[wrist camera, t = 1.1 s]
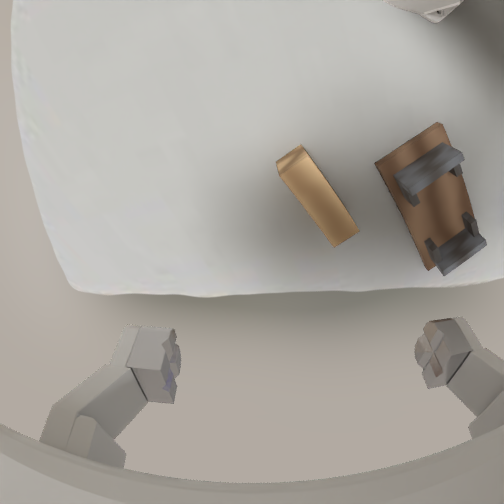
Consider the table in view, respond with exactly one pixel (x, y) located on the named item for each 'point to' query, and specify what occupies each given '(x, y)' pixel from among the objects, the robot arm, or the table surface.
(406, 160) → the wooden clamp fixture
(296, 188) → the top rail
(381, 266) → the table surface
